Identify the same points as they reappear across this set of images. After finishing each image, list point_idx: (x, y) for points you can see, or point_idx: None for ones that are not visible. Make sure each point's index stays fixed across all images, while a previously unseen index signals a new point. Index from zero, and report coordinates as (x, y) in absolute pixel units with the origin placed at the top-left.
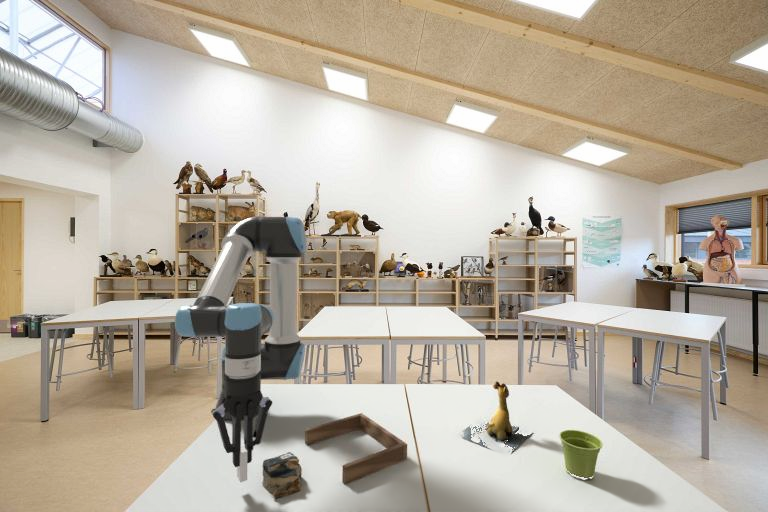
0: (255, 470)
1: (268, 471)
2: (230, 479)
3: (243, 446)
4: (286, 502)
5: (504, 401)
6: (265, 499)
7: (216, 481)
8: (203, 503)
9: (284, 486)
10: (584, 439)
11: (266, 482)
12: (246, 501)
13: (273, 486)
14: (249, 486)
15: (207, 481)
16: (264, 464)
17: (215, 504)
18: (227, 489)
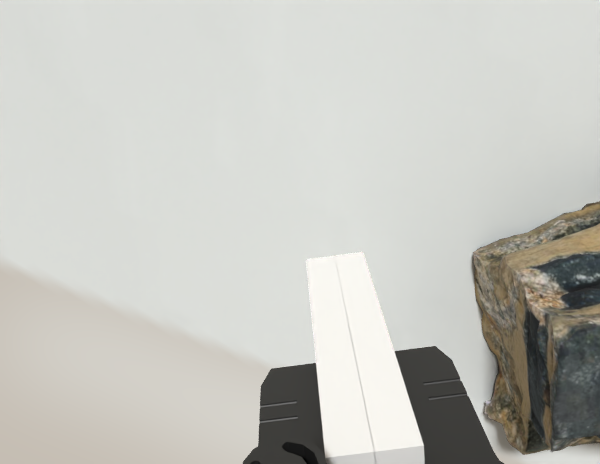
0: (485, 24)
1: (540, 414)
2: (268, 67)
3: (412, 452)
4: None
5: None
6: None
7: (155, 43)
8: (81, 275)
9: (576, 442)
10: None
11: (497, 312)
12: None
13: (519, 393)
14: (387, 224)
15: (78, 5)
16: (548, 350)
17: (158, 314)
18: (237, 193)
